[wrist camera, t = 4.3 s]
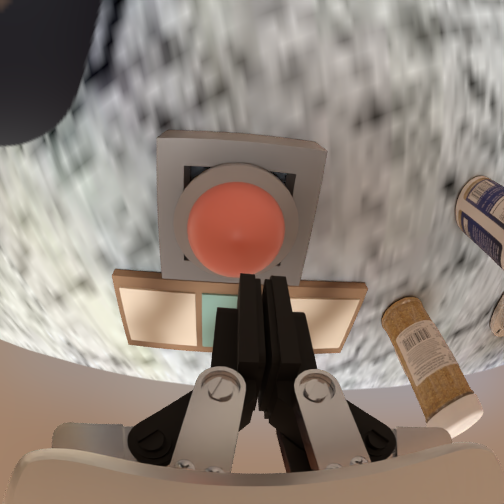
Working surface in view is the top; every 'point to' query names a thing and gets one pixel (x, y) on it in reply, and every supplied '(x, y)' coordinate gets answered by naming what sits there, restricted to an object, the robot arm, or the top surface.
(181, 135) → the button housing
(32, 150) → the top surface
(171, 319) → the board
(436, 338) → the sprinkles bottle
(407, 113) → the top surface
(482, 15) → the top surface
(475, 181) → the pill bottle
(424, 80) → the top surface
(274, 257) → the dome button
